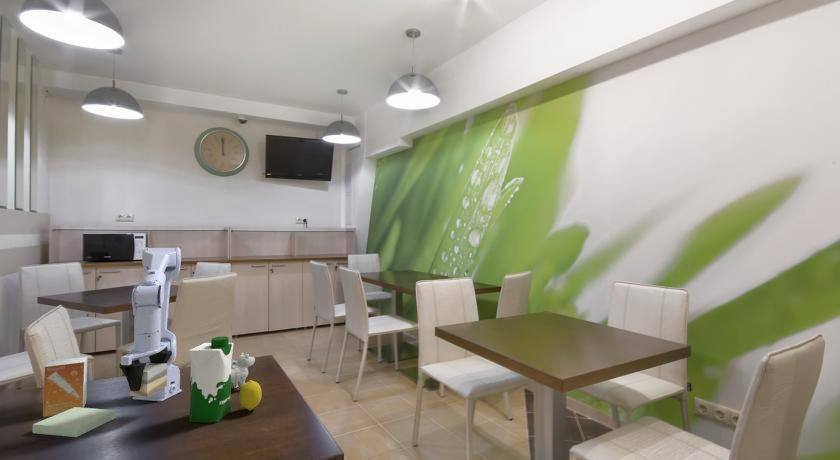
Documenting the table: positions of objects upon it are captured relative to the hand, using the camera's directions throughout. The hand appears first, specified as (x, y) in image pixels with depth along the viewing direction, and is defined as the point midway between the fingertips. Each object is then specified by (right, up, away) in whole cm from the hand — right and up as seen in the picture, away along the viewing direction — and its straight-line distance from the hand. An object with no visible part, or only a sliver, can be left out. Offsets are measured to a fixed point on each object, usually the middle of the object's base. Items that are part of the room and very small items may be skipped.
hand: (146, 384), depth 105 cm
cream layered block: (+1, -2, 0) cm, 2 cm away
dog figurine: (+14, -9, +17) cm, 24 cm away
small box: (-24, -8, +3) cm, 25 cm away
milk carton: (+17, -8, 0) cm, 19 cm away
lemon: (+25, -8, +3) cm, 27 cm away
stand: (-13, -8, -6) cm, 17 cm away
